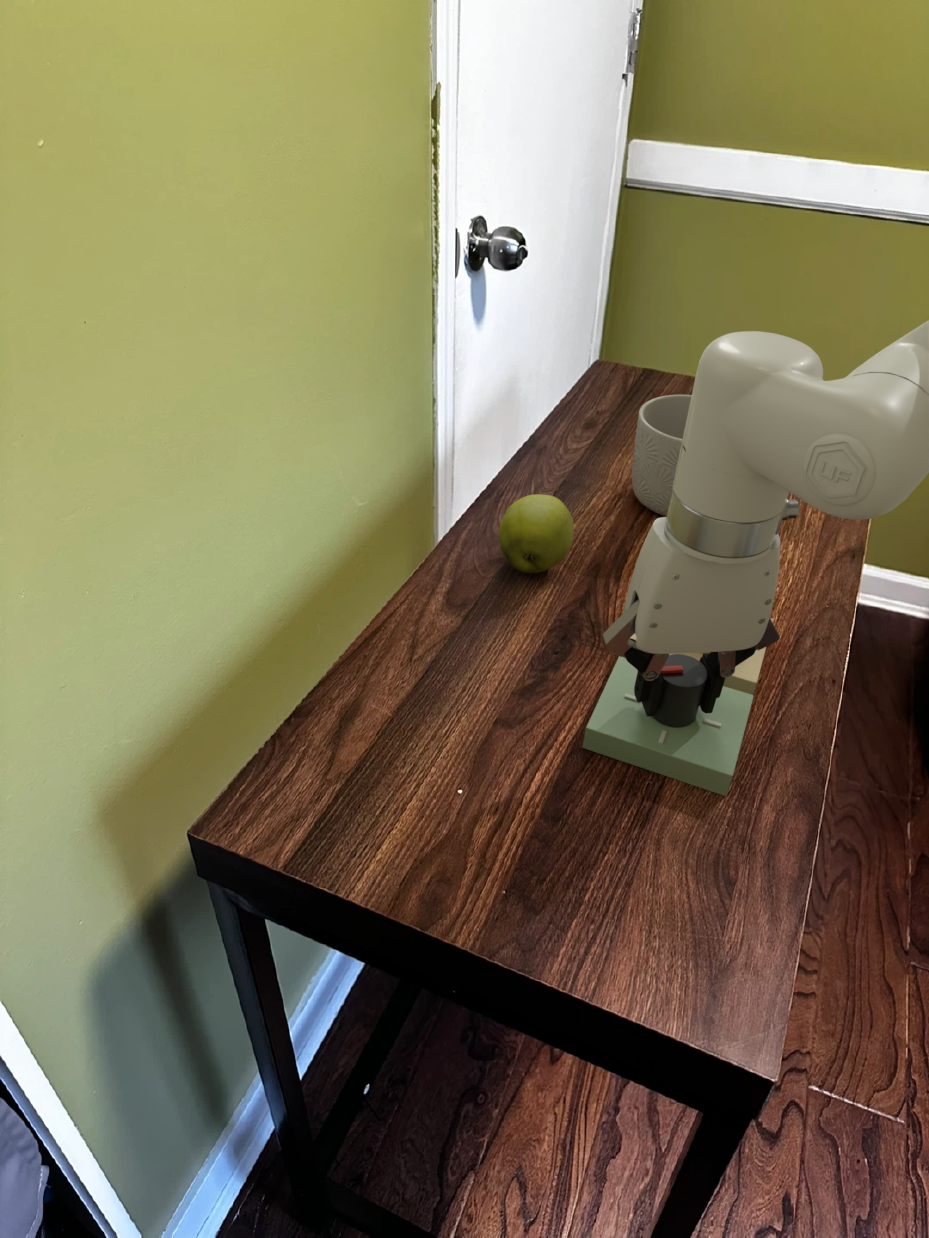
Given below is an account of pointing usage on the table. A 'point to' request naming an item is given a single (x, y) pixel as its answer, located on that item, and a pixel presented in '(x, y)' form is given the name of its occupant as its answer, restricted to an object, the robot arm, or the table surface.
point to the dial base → (669, 734)
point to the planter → (658, 449)
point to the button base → (739, 671)
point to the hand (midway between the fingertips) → (674, 701)
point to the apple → (536, 533)
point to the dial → (680, 690)
